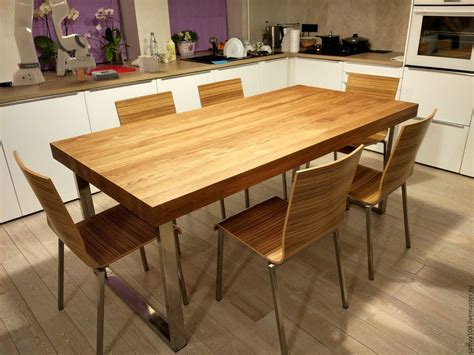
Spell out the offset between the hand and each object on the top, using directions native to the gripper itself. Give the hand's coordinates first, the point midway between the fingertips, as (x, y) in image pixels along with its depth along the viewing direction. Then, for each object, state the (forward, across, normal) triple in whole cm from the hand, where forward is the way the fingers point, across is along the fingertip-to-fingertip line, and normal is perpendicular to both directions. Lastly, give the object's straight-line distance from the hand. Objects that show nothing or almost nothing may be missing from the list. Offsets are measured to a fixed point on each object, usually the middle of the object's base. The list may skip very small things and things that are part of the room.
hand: (80, 73), depth 289 cm
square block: (+3, 0, +4) cm, 5 cm away
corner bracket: (-16, +47, +23) cm, 55 cm away
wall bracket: (-25, -21, +32) cm, 45 cm away
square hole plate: (-2, +16, +8) cm, 18 cm away
